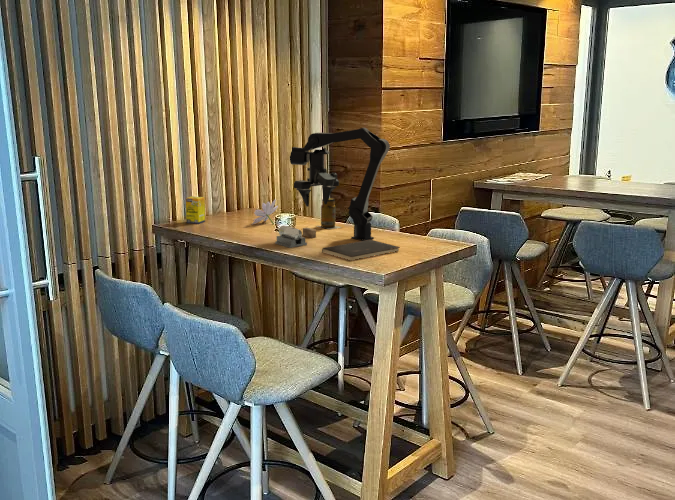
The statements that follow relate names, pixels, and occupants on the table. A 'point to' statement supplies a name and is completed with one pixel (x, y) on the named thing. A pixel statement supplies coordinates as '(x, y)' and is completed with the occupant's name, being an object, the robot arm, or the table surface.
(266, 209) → the water lily
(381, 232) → the table surface
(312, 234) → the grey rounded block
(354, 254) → the hardcover book
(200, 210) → the supplement box
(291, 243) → the v block
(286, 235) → the axle
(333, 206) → the condiment
